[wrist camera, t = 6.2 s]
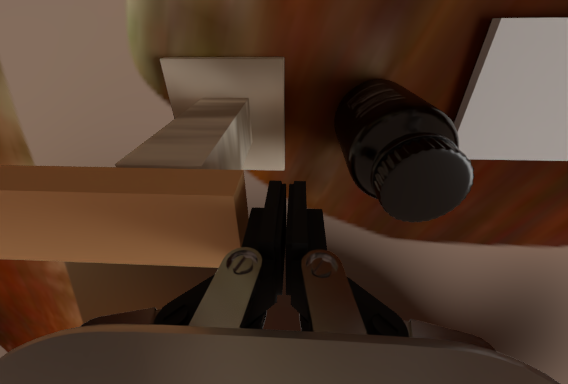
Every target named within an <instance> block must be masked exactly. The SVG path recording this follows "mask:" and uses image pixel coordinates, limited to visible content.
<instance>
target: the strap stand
mask: <svg viewBox="0 0 568 384" xmlns="http://www.w3.org/2000/svg"><path fill="white" fill-rule="evenodd" d="M160 62H161V67H162V71H163V75H164V79H165V83H166V87H167V91H168V95H169V99H170V103H171V107H172V111H173V115H174V120H173V121H172V122H170V123H169V124H168V125H166V126H165V127H164V128H162V129H161V130H160V131H158V132H157V133H156V134H154V135H153V136H152V137H151V138H149V139H148V140H146V141H145V142H144V143H142V144H141V145H140V146H138V147H137V148H136V149H134V150H133V151H132V152H131V153H129V154H128V155H127V156H125V157H124V158H123V159H121V160H120V161H119V162H117V163H116V164H115V166H116V167H117V168H168V169H218V170H284V168H285V102H284V57H165V58H161V59H160Z"/></svg>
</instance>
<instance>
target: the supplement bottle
mask: <svg viewBox="0 0 568 384" xmlns="http://www.w3.org/2000/svg"><path fill="white" fill-rule="evenodd" d="M335 131H336V135H337V138H338V141H339V144H340V147H341V150H342V152H343V155H344V158H345V161H346V164H347V167H348V170H349V172H350V175H351V177H352V179H353V181H354V182H355V184H356V185H357V186H358V188H360V189H361V190H362V191H363V192H364V193H366V194H367V195H369V196H371V197H373V198H376V199H378V200H379V202H380V204H381V206H382V207H383V208H384V210H385V211H386V212H387V213H389V215H390V216H392V217H395V218H396V219H398V220H402V221H409V222H422V221H429V220H431V219H435V218H438V217H439V216H442V215H445V214H446V213H447V212H449V211H451V210H453V209H454V208H455V207H456V206H458V205H459V204H460V203H461V201H462V200H464V199H465V198H466V195H467V194H468V193H469V192H470V188H471V186H472V185H473V178H474V174H473V171H474V168H473V167H472V166H471V161H470V160H469V159H468V158H467V157H466V155H465V154H464V153H463V152H462V151H460V150H459V137H458V133H457V130H456V127H455V125H454V124H453V122H452V121H451V119H450V118H449V117H448V116H447V115H446V114H444V113H443V112H442V111H440V110H439V109H438V108H436V107H434V106H433V105H431V104H430V103H428V102H426V101H425V100H423V99H422V98H420V97H418V96H417V95H415V94H414V93H412V92H410V91H409V90H407V89H406V88H404V87H402V86H401V85H399V84H397V83H395V82H392V81H389V80H383V79H376V80H370V81H367V82H364V83H361V84H360V85H358V86H356V87H355V88H353V89H352V90H351V91H349V92H348V93H347V94H346V96H345V97H344V98H343V99H342V101H341V102H340V104H339V106H338V108H337V111H336V115H335Z"/></svg>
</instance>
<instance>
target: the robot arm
mask: <svg viewBox="0 0 568 384" xmlns="http://www.w3.org/2000/svg"><path fill="white" fill-rule="evenodd" d="M285 245H286V295H291V305H292V306H293V307H294V308H295V309H296V310H297V311H298V312H299V318H300V325H301V331H286V330H266V329H263V326H264V322H265V318H266V313H267V310H268V309H269V308H270V307H271V306H272V305H274V304H275V303H276V302H277V295H282V289H283V274H284V273H283V272H284V258H285ZM0 384H560V383H559V382H557V381H555V380H554V379H553V378H551V377H550V376H548V375H547V374H545V373H543V372H541V371H540V370H538V369H536V368H534V367H532V366H530V365H528V364H526V363H524V362H521V361H519V360H516V359H514V358H512V357H510V356H507V355H504V354H502V353H499V352H497V351H496V350H495V349H494V348H493V347H492V346H491V345H490V344H489V343H487V342H486V341H485V340H483V339H482V338H480V337H477V336H475V335H472V334H468V333H464V332H460V331H457V330H453V329H449V328H445V327H441V326H437V325H433V324H429V323H425V322H422V321H418V320H414V319H410V321H405V320H402V318H400V317H399V316H398V315H397V314H396V313H395V312H394V311H392V310H391V309H389V308H388V307H387V306H386V305H384V304H383V303H382V302H380V301H379V300H378V299H376V298H375V297H374V296H372V295H371V294H369V293H368V292H367V291H365V290H364V289H363V288H361V287H360V286H359V285H357V284H356V283H355V282H353V281H352V280H351V279H349V278H348V277H347V276H346V274H345V271H344V268H343V266H342V263H341V261H340V259H339V258H338V257H337V256H336V255H335V254H333V253H332V252H330V251H327V246H326V237H325V229H324V220H323V212H322V209H307V205H306V181H294V184H289V198H288V213H287V227H286V184H282V182H281V181H270V182H269V187H268V192H267V197H266V202H265V207H264V208H252V209H251V213H250V217H249V220H248V224H247V228H246V232H245V235H244V239H243V243H242V247H241V248H236V249H234V250H232V251H230V252H229V253H228V254H227V255H226V256H225V257H224V259H223V260H222V262H221V264H220V266H219V268H218V270H217V272H216V274H214V275H213V276H211V277H210V278H208V279H207V280H205V281H203V282H201V283H200V284H199V285H197V286H195V287H193V288H192V289H190V290H189V291H187V292H185V293H184V294H182V295H181V296H179V297H177V298H176V299H174V300H173V301H171V302H169V303H168V304H167V305H165V306H164V307H163V308H162V309H160V310H156V308H155V307H153V308H148V309H142V310H136V311H130V312H124V313H119V314H113V315H107V316H101V317H97V318H94V319H91V320H89V321H88V322H86V323H84V324H83V325H81V326H80V327H77V328H71V329H67V330H62V331H59V332H55V333H52V334H49V335H46V336H42V337H40V338H37V339H34V340H32V341H30V342H27V343H25V344H23V345H21V346H19V347H17V348H15V349H13V350H12V351H10V352H8V353H6V354H5V355H4V356H2V357H1V358H0Z"/></svg>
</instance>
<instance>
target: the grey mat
mask: <svg viewBox="0 0 568 384" xmlns="http://www.w3.org/2000/svg"><path fill="white" fill-rule="evenodd" d="M454 125H455V127H456V130H457V133H458V137H459V150H460V151H462V152H463V153H464V154H465V155H466V157H467V158H468V159H490V160H549V161H568V18H493V19H492V22H491V24H490V27H489V30H488V33H487V35H486V38H485V41H484V43H483V46H482V49H481V51H480V54H479V57H478V60H477V62H476V65H475V68H474V70H473V73H472V76H471V78H470V81H469V84H468V87H467V89H466V92H465V95H464V97H463V100H462V103H461V105H460V108H459V111H458V114H457V116H456V119H455V122H454Z"/></svg>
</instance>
